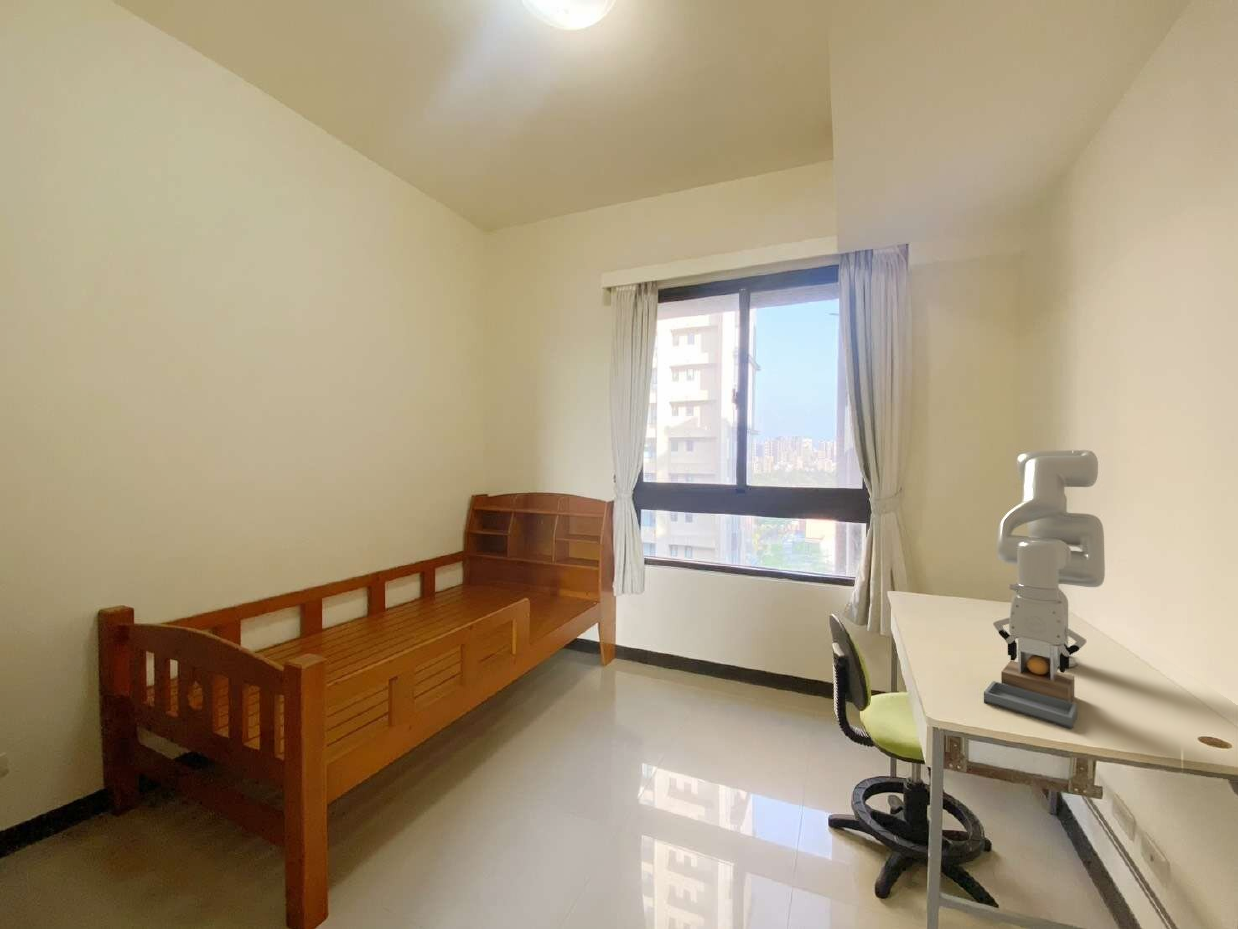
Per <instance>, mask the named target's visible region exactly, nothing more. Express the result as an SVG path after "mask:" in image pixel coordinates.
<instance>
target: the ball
mask: <svg viewBox="0 0 1238 929" xmlns="http://www.w3.org/2000/svg"><path fill="white" fill-rule="evenodd" d="M1027 667H1028V669H1029V670H1030V671H1031V672H1033V673H1035V674H1039V675H1042V674H1045V673H1047V671H1048V669H1049V667H1048V664H1047V662H1046V661H1045V660H1043V659H1042V658H1040V657H1031V658H1029V659H1028V660H1027Z"/></svg>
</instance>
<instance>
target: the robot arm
mask: <svg viewBox="0 0 1238 929" xmlns="http://www.w3.org/2000/svg"><path fill="white" fill-rule="evenodd" d="M1016 469H1017V473H1018V476H1019V480H1020V481H1021V484H1022V495H1021V496H1022V498H1021V502H1020V503H1019V504H1017V505H1015V507H1013V508H1011V509H1010V510H1009V511H1008V512H1007V513H1006V514H1004V516H1003V517H1002V519H1001V521H1000V522H999V525H998V530H997V540H996V555H997V557H998V559H999V560H1000V562H1003V563H1005V564H1007V565H1008V564H1009V565H1016V566H1017V567H1016V568H1017V570H1016V571H1017V572H1016V573H1017V574H1016V576H1017V577H1016V578H1017V579H1016V583H1014V584H1009V590H1011V591H1015V594H1013V595H1012V597H1011V598H1012V599H1011V604H1010V610H1009V617H1005V618H1001V619H999V620H996V621H994V622H993V626H994V628H995V629H996V631H997V633H998V635H999V636H1001V637H1002V638H1003V639H1004V641H1005V643H1006V644H1007V656H1010V661H1014V662H1015V660H1016V659H1018V642H1017V641H1016V640H1018V638H1020V637H1026V638H1031V639H1035V640H1040V641H1045V642H1050V644H1051V645H1054V646H1057V668H1059V672H1060V673H1064V674H1065V672H1066V670H1069V669H1070V668H1073V667H1075V666H1076V665H1077V661H1076V660H1077V659H1075V657H1073V656H1071V655H1073V654H1074V653H1076V652H1078V651H1079V650H1081V649H1082V647H1083V646H1085V645H1086V643H1087V639H1085V637H1083V636H1081V635H1079V634H1078V633H1076V632H1074V631H1073V630H1072V629H1070V628H1069V600H1068V597H1067V596H1066V594H1065V593H1064V591H1063V590H1061V589H1060V587H1059V585H1068V586H1076V587H1085V588H1099V587H1100V586H1102V585H1103V583H1104V581H1105V576H1106V574H1105V573H1106V572H1105V570H1106V569H1105V566H1106V564H1105V533H1104V532H1105V531H1104V526H1103V523H1102V520H1101V519H1100V518H1099V517H1098V516H1096V515H1093V514H1089V513H1080V512H1078V513H1077V512H1068V510H1067V509H1068V507H1067V503H1068V501H1067V500H1068V499H1067V495H1066V493H1065V488H1090V487H1092V486H1094V485H1095V483H1096V482H1097V479H1098V474H1099V460H1098V458H1097V455H1096V454H1095V452H1093V451H1092V450H1086V449H1085V450H1084V449H1082V450H1081V449H1079V450H1077V449H1075V450H1074V449H1070V450H1056V449H1055V450H1033V451H1027V452H1023V453H1020V454H1019V455H1018V456H1017V459H1016ZM1024 524H1027V534H1028V535H1014V534H1013V532H1014V530H1016V529H1017V528H1018V527H1020V526H1022V525H1024ZM1070 547H1072V548H1078V549H1080V550H1081V551H1080V550H1072V548H1070ZM1006 625H1008V631H1006V630H1005V629H1004V628H1005V627H1003V626H1006ZM1069 638H1071V639H1072V640H1074V641H1075V643H1074V644H1072V645H1070V646H1069Z"/></svg>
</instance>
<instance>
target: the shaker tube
mask: <svg viewBox="0 0 1238 929" xmlns="http://www.w3.org/2000/svg"><path fill="white" fill-rule="evenodd" d="M1017 649H1018V653H1017V662H1018V673H1021V672H1022V671H1023V670H1024V668H1025V667H1027V660H1028V659H1029V658H1031V657H1040V658H1042V659H1043V660H1045V661H1046V662H1047V664H1048V667H1049V669H1048V671H1047V673H1051V681H1052V682H1054V680H1055V678H1056V676H1057V672H1058V667H1057V646H1054V645H1051V644H1050V642H1045V641H1040V640H1035V639H1031V638H1026V637H1020V638H1017ZM1027 668H1028V667H1027Z"/></svg>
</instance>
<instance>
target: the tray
mask: <svg viewBox="0 0 1238 929" xmlns="http://www.w3.org/2000/svg"><path fill="white" fill-rule="evenodd" d="M983 703H984V704H987V705H990V706H994V707H997V708H1000V709H1003V710H1006V711H1011V712H1013V713H1016V714H1020V715H1023V716H1026V717H1030V718H1034V719H1035V720H1038V721H1039V720H1040V721H1043V722H1047V723H1050V724H1053V725H1056V726H1060V727H1062V728H1065V729H1069V730H1072V728H1073V727H1074V724H1075V723H1076V722H1075V721H1076V718H1077V716H1078V703H1076V702H1069V701H1065V700H1061V699H1058V698H1054V697H1051V696H1047V695H1043V694H1040V693H1036V692H1032V691H1029V690H1025V689H1021V688H1018V687H1014V686H1010V685H1007V684H1003V683H1001V682H999V681H995V680H993V681H992V682H991V683H990V684H989V685H988V687H987V688H986V689H985V691H984V692H983Z"/></svg>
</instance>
